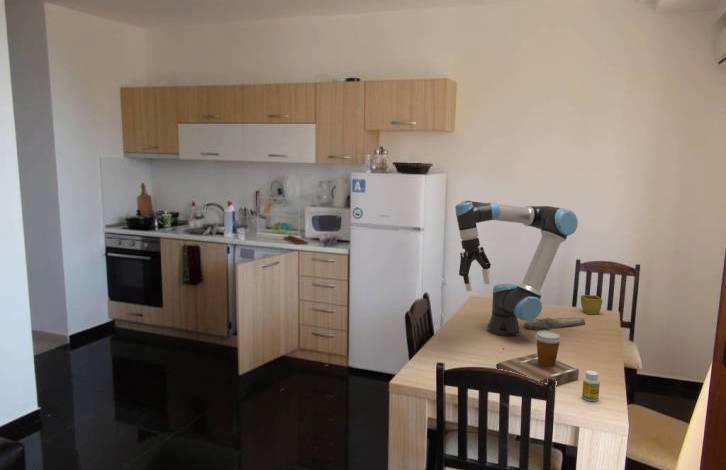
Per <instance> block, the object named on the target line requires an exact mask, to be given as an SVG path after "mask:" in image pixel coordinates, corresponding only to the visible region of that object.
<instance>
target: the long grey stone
mask: <svg viewBox="0 0 726 470" xmlns="http://www.w3.org/2000/svg"><path fill="white" fill-rule="evenodd" d="M584 324H586V320H585V318H584V317H578V316H577V317H576V316H569V317H558V318H552V317H549V316H547V317H542V318H535V319H533V320H530V321H524V323H523V327H524V328H526V329H530V330H540V331H542V330H551V329H556V328H557V329H559V328H561V327H566V328H567V327H577V326H581V325H582V326H583V325H584Z"/></svg>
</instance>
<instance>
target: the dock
mask: <svg viewBox="0 0 726 470" xmlns="http://www.w3.org/2000/svg"><path fill="white" fill-rule="evenodd" d="M496 368H497V369H503V370H507V371H512V372H515V373H518V374H521V375H524V376H528V377H531V378H533V379H536V380H538V381H540V382H543V383H547V378H554V379H556V381H557V385H556V386H555V387H557V386H562V385H564V384H569V383H572V382H575V381H578V380H579V374H580V370H579V367H576V366H574V365H571V364H570V363H569V364H568V363H566V362H563V361H561V360H559V359H556V362H555V366H553V367H545V366H542V365H540V364H538V353H537V352H536V353H532V354H527V355H524V356H520V357H515V358H512V359H507V360H503V361H499V362H498V363H496V365H495V369H496Z"/></svg>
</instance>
